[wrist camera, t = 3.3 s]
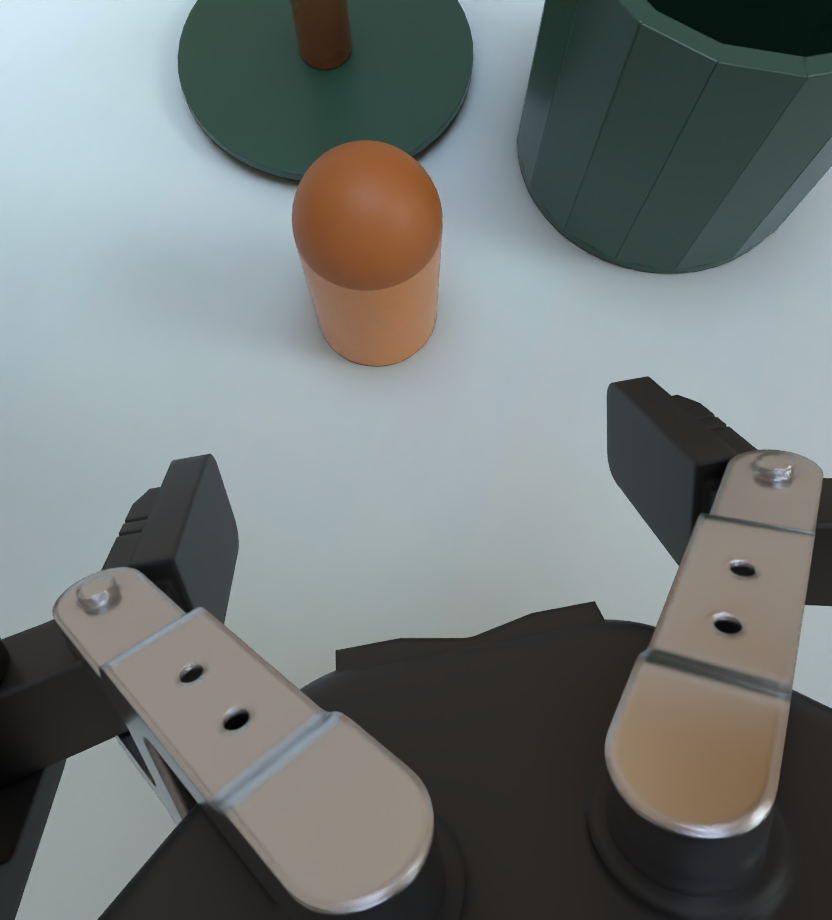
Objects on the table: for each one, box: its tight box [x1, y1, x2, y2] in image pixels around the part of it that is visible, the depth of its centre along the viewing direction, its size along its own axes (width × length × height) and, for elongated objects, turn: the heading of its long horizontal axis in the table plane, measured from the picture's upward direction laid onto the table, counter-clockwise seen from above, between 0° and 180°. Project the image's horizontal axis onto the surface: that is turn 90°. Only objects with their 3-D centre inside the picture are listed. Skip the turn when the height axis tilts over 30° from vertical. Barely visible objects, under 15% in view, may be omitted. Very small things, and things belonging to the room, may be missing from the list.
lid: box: [178, 0, 473, 180], centre depth 32 cm, size 15×15×6 cm
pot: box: [517, 0, 832, 273], centre depth 28 cm, size 14×14×12 cm
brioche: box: [292, 140, 442, 366], centre depth 27 cm, size 5×5×10 cm
